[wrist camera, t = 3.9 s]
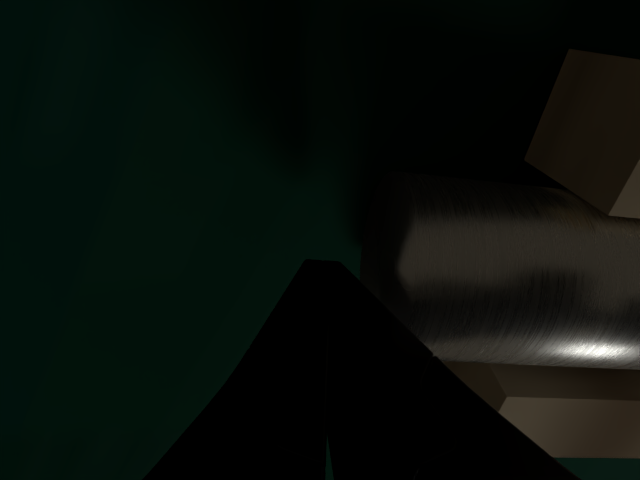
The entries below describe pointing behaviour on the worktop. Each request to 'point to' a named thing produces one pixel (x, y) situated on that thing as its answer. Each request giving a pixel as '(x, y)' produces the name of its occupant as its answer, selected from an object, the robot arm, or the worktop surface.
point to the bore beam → (614, 200)
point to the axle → (505, 272)
